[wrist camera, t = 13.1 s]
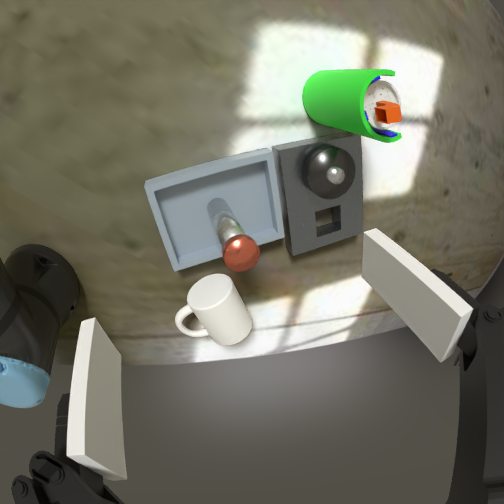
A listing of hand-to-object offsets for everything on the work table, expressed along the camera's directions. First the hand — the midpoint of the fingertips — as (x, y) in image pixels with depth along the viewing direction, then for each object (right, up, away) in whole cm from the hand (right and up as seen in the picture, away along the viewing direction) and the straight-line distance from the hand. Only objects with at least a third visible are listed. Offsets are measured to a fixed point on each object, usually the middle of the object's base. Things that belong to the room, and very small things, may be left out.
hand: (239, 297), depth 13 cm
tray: (-5, +9, +31) cm, 33 cm away
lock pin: (-5, +9, +31) cm, 32 cm away
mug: (-8, -7, +40) cm, 41 cm away
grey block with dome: (+12, +12, +35) cm, 39 cm away
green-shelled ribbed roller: (+12, +26, +28) cm, 40 cm away
